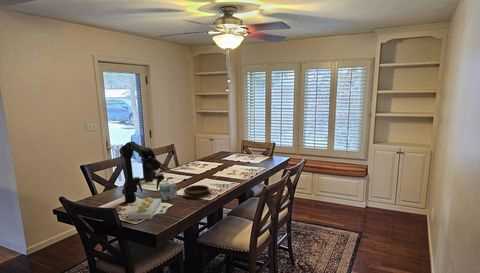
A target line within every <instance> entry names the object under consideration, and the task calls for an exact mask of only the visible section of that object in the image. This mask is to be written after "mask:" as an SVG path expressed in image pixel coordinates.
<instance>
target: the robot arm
mask: <svg viewBox="0 0 480 273" xmlns="http://www.w3.org/2000/svg"><path fill="white" fill-rule="evenodd" d="M118 151H119V156H120V157H121V159H123V166H124V175H125V176H124V177H125V181H124V183H123V188H122V190H121V194H122V195H124V204H133V203H135V202H136V201H137V195H136V193H137V192H138V188H139V189H140V192H141V193H143V188H142V183H141V182H144V183H152V182H154V180H156V184H155V185H156V188H155V189H156V191H158V189H159V187H160V185H159V184H161V182H163V181H164V180H165V176H164V174H163V173H159V174H158V173H156V172H155V173H154V172H153V171H158V170H159V169H160V167H161V163H160V161H158V159H157V156H156V154H155V152H154V150H153V149H152V147H145V146H142V145H140V144H138V143H136V142H135V141H128V142H126V143H125V144H124V145H122V146H120V148H119V150H118ZM134 152H135V153H137V154H138V157H140V161H141V162H142V163H141V164H142V173H143V177H140V176H135V177H134V173H133V164H132V158H133V156H134Z"/></svg>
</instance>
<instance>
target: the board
mask: <svg viewBox="0 0 480 273" xmlns="http://www.w3.org/2000/svg"><path fill="white" fill-rule="evenodd" d="M144 201H145V198H141V199H140V200H139V201H138V202H137V203H136V205H134V207H133V208H132V209H131V211H129V213H127V220H129V221H130V219H134V220H151V219H153V217H154V215H155V214H156V213H157V212H158V210H159V208H160V207H161V204H162V199H161V198H152V203H149V207H148V208H146V211H145V212H139V209H138V207H139V206H141V205H142V202H144Z"/></svg>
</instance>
